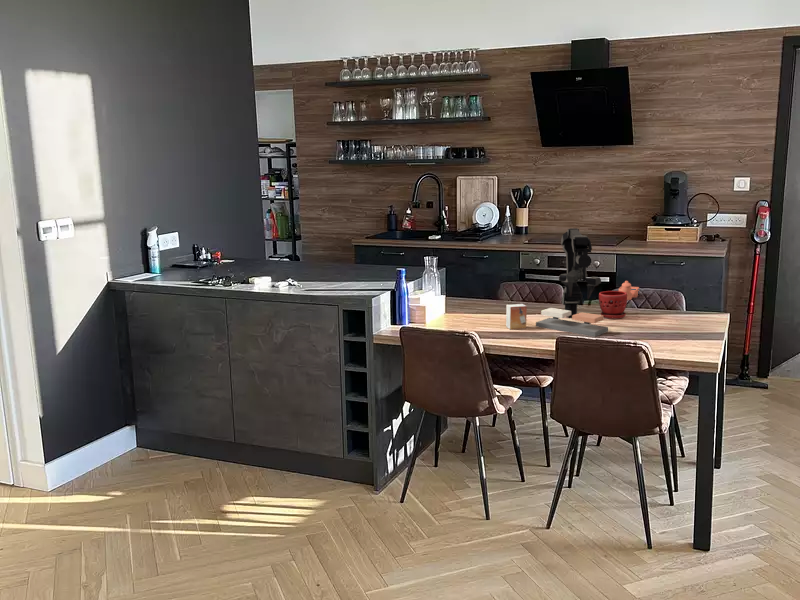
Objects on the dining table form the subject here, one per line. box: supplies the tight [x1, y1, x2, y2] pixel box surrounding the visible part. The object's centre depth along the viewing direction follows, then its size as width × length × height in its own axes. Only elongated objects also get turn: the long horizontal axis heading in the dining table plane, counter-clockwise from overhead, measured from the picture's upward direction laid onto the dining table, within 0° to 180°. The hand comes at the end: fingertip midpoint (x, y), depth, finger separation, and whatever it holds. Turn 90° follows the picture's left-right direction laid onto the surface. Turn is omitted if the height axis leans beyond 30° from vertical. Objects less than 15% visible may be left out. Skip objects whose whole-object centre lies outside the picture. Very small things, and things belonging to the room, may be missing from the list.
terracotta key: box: [571, 311, 604, 324], centre depth 350 cm, size 8×11×4 cm
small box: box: [505, 303, 528, 330], centre depth 360 cm, size 8×6×10 cm
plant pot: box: [598, 290, 628, 320], centre depth 377 cm, size 13×13×12 cm
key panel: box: [535, 317, 609, 337], centre depth 356 cm, size 12×30×2 cm, turn 48°
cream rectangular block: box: [540, 307, 571, 319], centre depth 361 cm, size 8×11×4 cm
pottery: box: [618, 280, 640, 301], centre depth 424 cm, size 18×10×10 cm, turn 156°
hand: (579, 297), depth 360 cm, fingers open, 9 cm apart
